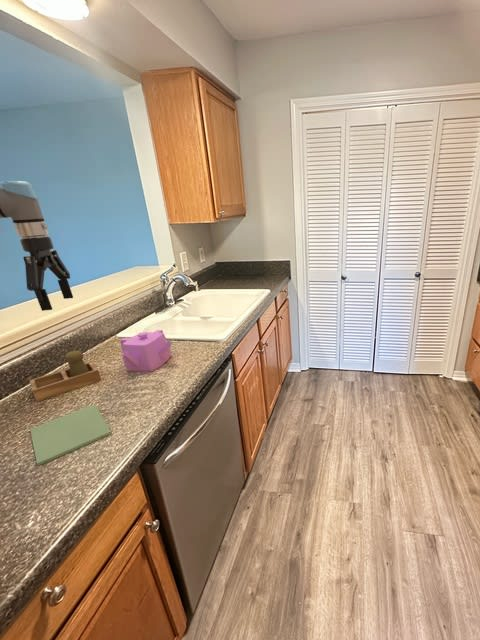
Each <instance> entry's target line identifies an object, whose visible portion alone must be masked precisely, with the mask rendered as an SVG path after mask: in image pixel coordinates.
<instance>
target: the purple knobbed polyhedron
mask: <svg viewBox="0 0 480 640" xmlns="http://www.w3.org/2000/svg"><path fill="white" fill-rule="evenodd" d="M119 341H120V347H121V353H122V354H121V356H122V362H123V365H124V367H125V368H126V370H127V371H131V372H146V373H147V372H148V373H149V372H153V371H156V370H157V369H158V368H160V367H162V365H164V364H166V362H167V361H168V360H169V359H170V358H171V356H172V350H171V346H172V344H173V341H170V340H168V338H167V337H166V335H165V333H164V331H163V330H162V329H156V330H155V331H151V332H150V331H142V332H139V333H136V334H135V335H134V336H132V337H123V338H120V340H119Z"/></svg>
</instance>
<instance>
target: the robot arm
mask: <svg viewBox="0 0 480 640" xmlns="http://www.w3.org/2000/svg"><path fill="white" fill-rule="evenodd" d="M3 218H4V219H6V218H7V219H8V218H11V220H12V223H13V226H14V229H15V231H16V234H17V237H18V238H21V239H20V245H21V246H22V250H23V251H24V252H26V253H29V255H28V256H27V255H26V256H23V261H24V267H25V278H26V279H25V281H26V290H28V291H31V292H34V294H35V297H36V299H37V302H38V304H39V307H40V310H41V311H42V312H44V311H45V312H46V311H52V310H53V307H52V303H51V301H50V299H49V295H48V292H47V289H46V288H44V280H45V271H46V270H47V269H48V270H50V271H51V272H52V273H53V274H54V275H55V277H56V278H57V279H58V280H57V282H58V286H59V289H60V291H61V294H62V297H63V300H66V299H68V300H69V299H73V298H74V295H73V293H72V290H71V286H70V283H69V279H71V274H70V272H69V270H68V269H67V266H65V264H64V262H63V260H62V259H61V258H60V256H59V253H58V252H57V250H56V249H55V250H54V244H53V241H52V238H51V237H50V236H49V234H50V233H49V230H48V225H47V224H46V222H45V219H44V214H43V212H42V209H41V205H40V203H39V198H38V197H37V194H36V191H35V190H34V188H33V185H32V183H30V182H29V181H25V180H6V181H5V180H4V181H0V219H3Z"/></svg>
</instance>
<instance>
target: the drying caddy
mask: <svg viewBox="0 0 480 640" xmlns="http://www.w3.org/2000/svg"><path fill="white" fill-rule="evenodd" d="M84 363H85V365H86V367H87V368H88V370H89V372H86V373H83V374H80V375H77V376H74V377H71V373H70V367H68V368H65V369H62V370H61V369H60V370H58V371H55V372H52V373H47V374H45V375H42V376H38V377H35V378H30V379H29V384H30V388H31V392H32V394H33V396H34V399H35V401H36V403H38V402H41V401H43V400H46V399H50V398H53V397H56V396H58V395H61V394H64V393H67V392H70V391H73V390H76V389H80V388H81V387H85V386H87V385H91V384H94V383H97V382H99V380H100V381H102V378H101V375H100V372H99V370H98V368H97V367H96V365H95V364H94V362H93V361H92V360H91V361H89V362H84Z"/></svg>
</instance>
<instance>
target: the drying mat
mask: <svg viewBox="0 0 480 640" xmlns="http://www.w3.org/2000/svg"><path fill="white" fill-rule="evenodd" d="M29 431H30V436H31V441H32V446H33V451H34V456H35V462H36V465H37V466H41V465H44V464H46V463H48V462H50V461H53V460H55V459H57V458H60V457H61V456H65V455H66V454H69V453H71V452H73V451H75V450H77V449H80V448H83V447H84V446H87V445H90V444H92V443H94V442H96V441H98V440H101V439H103V438H106V437H107V436H110V435H112V430H111V428H110V427H109V425H108V424H107V422H106V420H105V418H104V417H103V414H102V413H101V411H100V410H99V408H98V406H97V404H96V403H95V404H92V405H89V406H86V407H84V408H81V409H79V410H76V411H73V412H70V413H68V414H65V415H62V416H60V417H57V418H55V419H51V420H49V421H46V422H44V423H42V424H39V425H35V426H33V427H31V428H29Z"/></svg>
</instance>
